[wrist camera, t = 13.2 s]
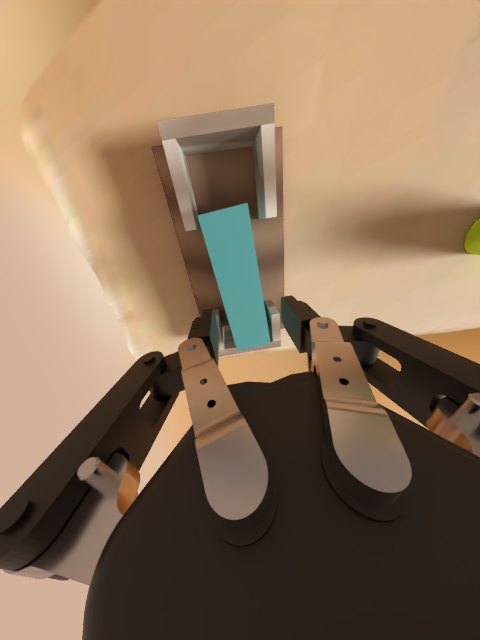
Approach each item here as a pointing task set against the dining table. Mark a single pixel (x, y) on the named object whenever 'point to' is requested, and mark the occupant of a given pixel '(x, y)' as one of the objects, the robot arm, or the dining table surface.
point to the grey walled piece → (227, 199)
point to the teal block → (237, 273)
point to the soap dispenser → (473, 239)
